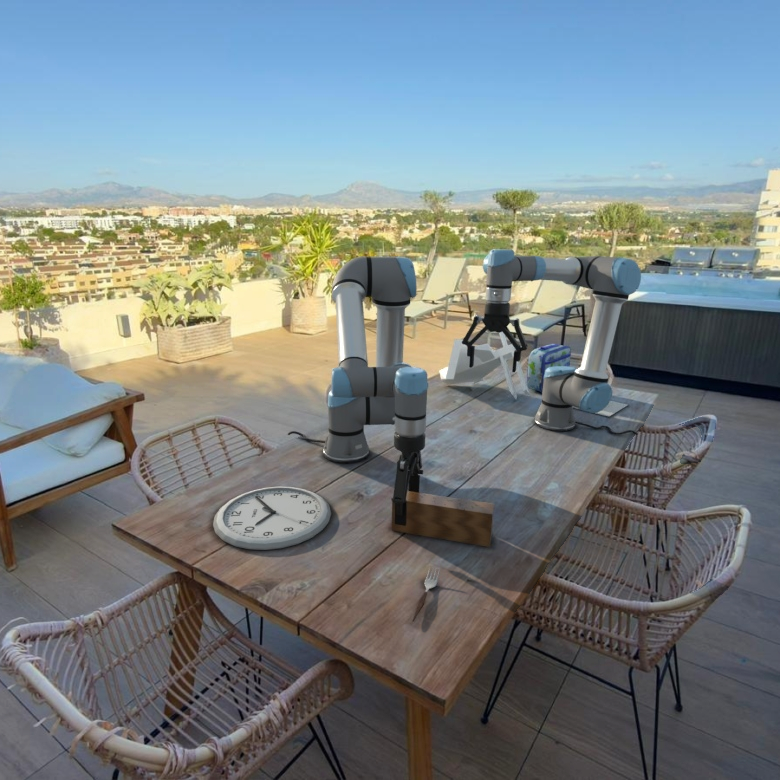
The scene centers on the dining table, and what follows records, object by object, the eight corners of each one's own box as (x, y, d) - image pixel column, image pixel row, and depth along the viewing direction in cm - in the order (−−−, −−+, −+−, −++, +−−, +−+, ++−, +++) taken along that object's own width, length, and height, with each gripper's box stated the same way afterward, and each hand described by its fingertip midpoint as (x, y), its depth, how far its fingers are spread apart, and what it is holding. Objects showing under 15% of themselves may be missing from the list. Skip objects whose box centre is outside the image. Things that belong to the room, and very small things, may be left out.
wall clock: (329, 541, 123) (198, 546, 121) (329, 547, 124) (199, 552, 121) (332, 482, 152) (226, 484, 149) (332, 487, 152) (226, 489, 150)
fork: (406, 621, 101) (406, 613, 100) (428, 573, 115) (429, 565, 115) (419, 625, 100) (419, 616, 99) (440, 576, 114) (440, 568, 114)
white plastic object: (461, 429, 252) (437, 405, 227) (444, 352, 274) (420, 323, 250) (535, 404, 240) (518, 377, 215) (510, 326, 262) (492, 293, 237)
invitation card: (608, 416, 214) (573, 407, 224) (608, 416, 214) (573, 408, 224) (628, 404, 229) (594, 396, 238) (628, 405, 229) (594, 397, 238)
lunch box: (542, 396, 239) (547, 351, 232) (522, 391, 246) (526, 347, 240) (570, 385, 256) (575, 343, 250) (550, 380, 263) (554, 339, 257)
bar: (491, 535, 130) (494, 503, 127) (489, 547, 125) (492, 514, 123) (396, 519, 136) (397, 489, 134) (391, 530, 132) (392, 498, 129)
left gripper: (407, 413, 138) (405, 485, 144) (379, 450, 115) (378, 534, 121) (435, 416, 136) (432, 489, 142) (412, 455, 113) (409, 539, 119)
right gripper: (454, 300, 161) (451, 367, 167) (538, 306, 152) (531, 376, 158) (460, 297, 167) (457, 361, 174) (541, 302, 159) (534, 370, 165)
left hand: (407, 510), depth 132 cm, fingers open, 13 cm apart
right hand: (492, 369), depth 166 cm, fingers open, 13 cm apart
